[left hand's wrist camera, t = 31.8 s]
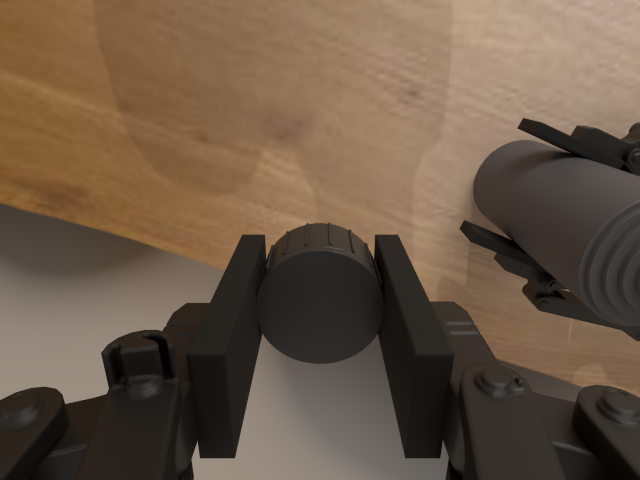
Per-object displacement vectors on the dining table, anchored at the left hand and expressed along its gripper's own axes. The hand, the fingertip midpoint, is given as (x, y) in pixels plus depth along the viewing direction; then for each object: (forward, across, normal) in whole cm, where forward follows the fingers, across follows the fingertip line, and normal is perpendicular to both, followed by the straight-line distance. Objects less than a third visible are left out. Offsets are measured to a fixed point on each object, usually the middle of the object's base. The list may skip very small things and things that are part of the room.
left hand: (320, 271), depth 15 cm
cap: (-2, 0, 0) cm, 2 cm away
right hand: (+16, +12, -1) cm, 21 cm away
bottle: (+23, +17, -3) cm, 29 cm away
